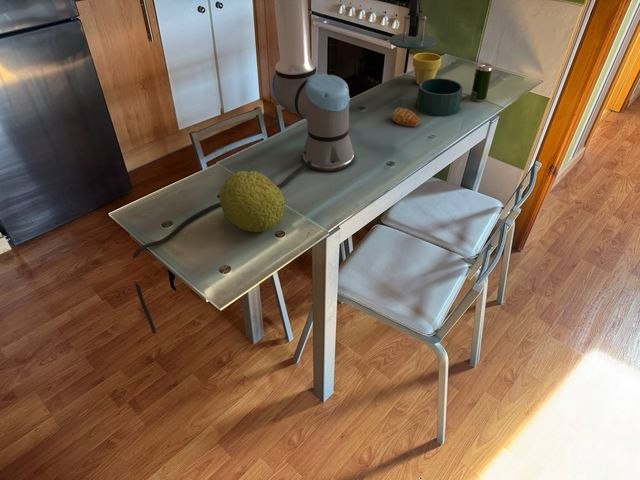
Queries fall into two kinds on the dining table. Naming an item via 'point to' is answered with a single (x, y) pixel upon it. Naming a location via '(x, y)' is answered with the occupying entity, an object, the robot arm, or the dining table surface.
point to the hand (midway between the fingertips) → (413, 35)
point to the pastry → (405, 117)
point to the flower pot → (425, 66)
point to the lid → (413, 38)
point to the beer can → (481, 82)
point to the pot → (439, 97)
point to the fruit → (251, 201)
